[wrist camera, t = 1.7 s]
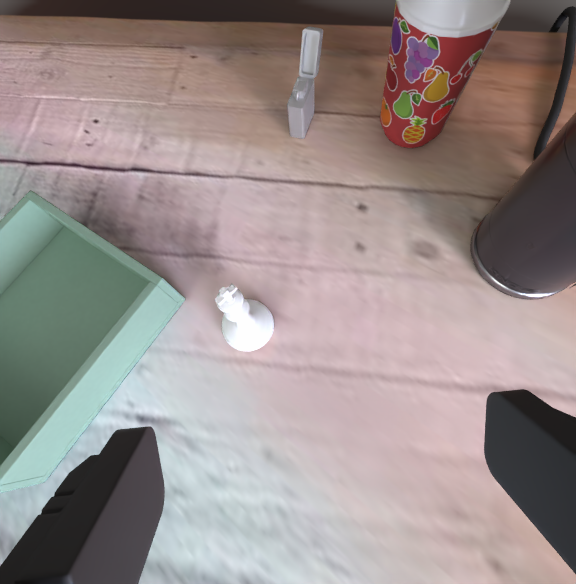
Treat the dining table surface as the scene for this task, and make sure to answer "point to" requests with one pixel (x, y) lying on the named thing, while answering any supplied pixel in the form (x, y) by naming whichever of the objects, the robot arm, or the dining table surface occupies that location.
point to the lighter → (305, 83)
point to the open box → (65, 333)
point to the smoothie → (432, 63)
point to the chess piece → (244, 320)
